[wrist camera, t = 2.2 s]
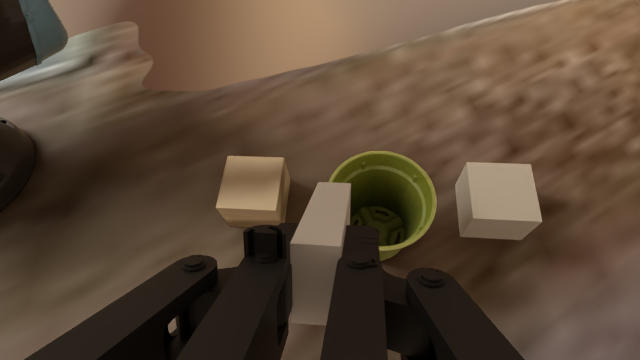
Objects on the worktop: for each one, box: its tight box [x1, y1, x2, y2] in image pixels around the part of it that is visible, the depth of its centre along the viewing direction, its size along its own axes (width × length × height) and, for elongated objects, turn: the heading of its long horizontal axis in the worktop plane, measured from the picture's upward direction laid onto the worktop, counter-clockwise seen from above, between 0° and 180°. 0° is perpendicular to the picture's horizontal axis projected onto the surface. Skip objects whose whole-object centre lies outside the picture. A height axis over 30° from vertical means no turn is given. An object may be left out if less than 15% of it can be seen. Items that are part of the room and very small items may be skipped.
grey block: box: [455, 162, 542, 240], centre depth 38 cm, size 6×6×5 cm
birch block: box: [216, 156, 290, 227], centre depth 40 cm, size 6×6×5 cm
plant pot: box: [329, 151, 437, 261], centre depth 36 cm, size 9×9×9 cm
